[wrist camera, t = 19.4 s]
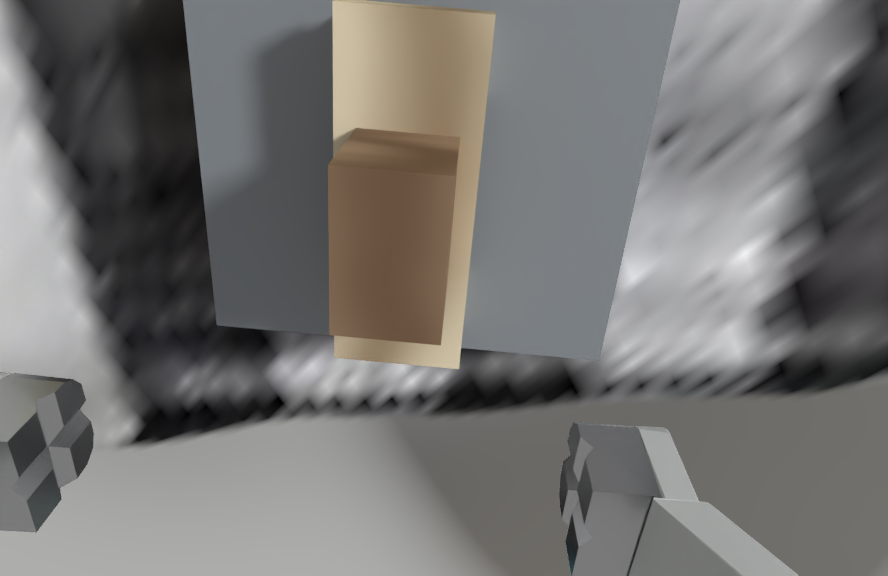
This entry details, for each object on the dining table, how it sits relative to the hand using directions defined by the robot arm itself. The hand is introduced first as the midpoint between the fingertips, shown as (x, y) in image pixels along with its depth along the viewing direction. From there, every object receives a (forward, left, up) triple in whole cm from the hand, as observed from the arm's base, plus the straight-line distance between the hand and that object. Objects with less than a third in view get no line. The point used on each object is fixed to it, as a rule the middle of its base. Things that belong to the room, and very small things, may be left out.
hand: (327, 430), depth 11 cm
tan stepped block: (0, 0, -14) cm, 14 cm away
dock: (0, 0, -18) cm, 18 cm away
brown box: (0, 0, -11) cm, 11 cm away
